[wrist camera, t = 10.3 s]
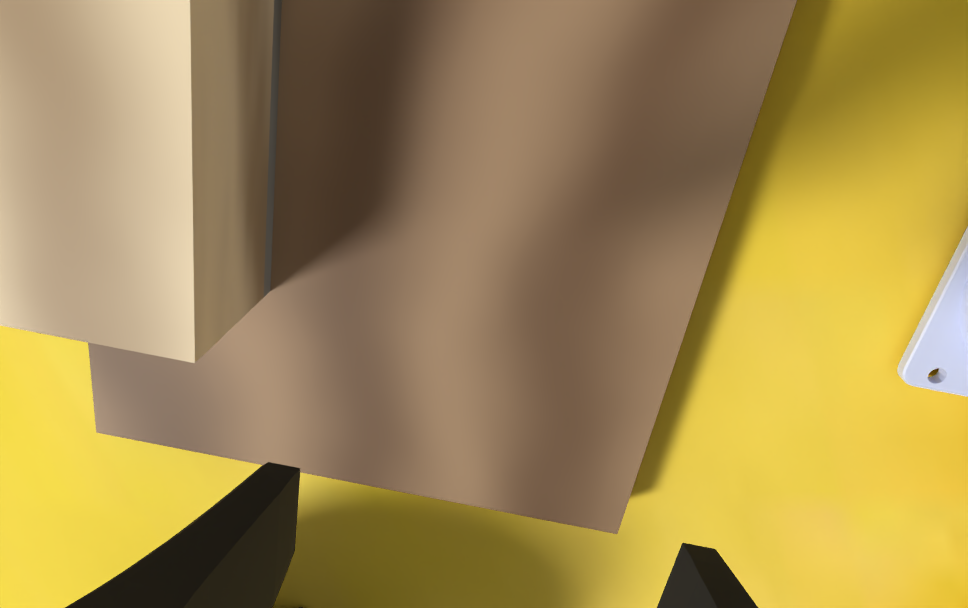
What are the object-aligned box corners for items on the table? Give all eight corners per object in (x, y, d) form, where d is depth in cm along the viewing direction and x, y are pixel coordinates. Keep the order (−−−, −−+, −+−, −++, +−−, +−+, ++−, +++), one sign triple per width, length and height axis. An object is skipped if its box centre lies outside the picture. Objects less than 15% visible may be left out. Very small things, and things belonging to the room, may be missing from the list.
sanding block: (283, -48, 15) (188, -77, 11) (270, 291, 19) (195, 363, 15) (56, -91, 15) (-121, -136, 11) (87, 255, 19) (-40, 317, 15)
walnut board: (863, -269, 14) (898, -302, 13) (612, 504, 23) (617, 533, 21) (66, -416, 14) (14, -465, 13) (123, 408, 23) (96, 432, 22)
